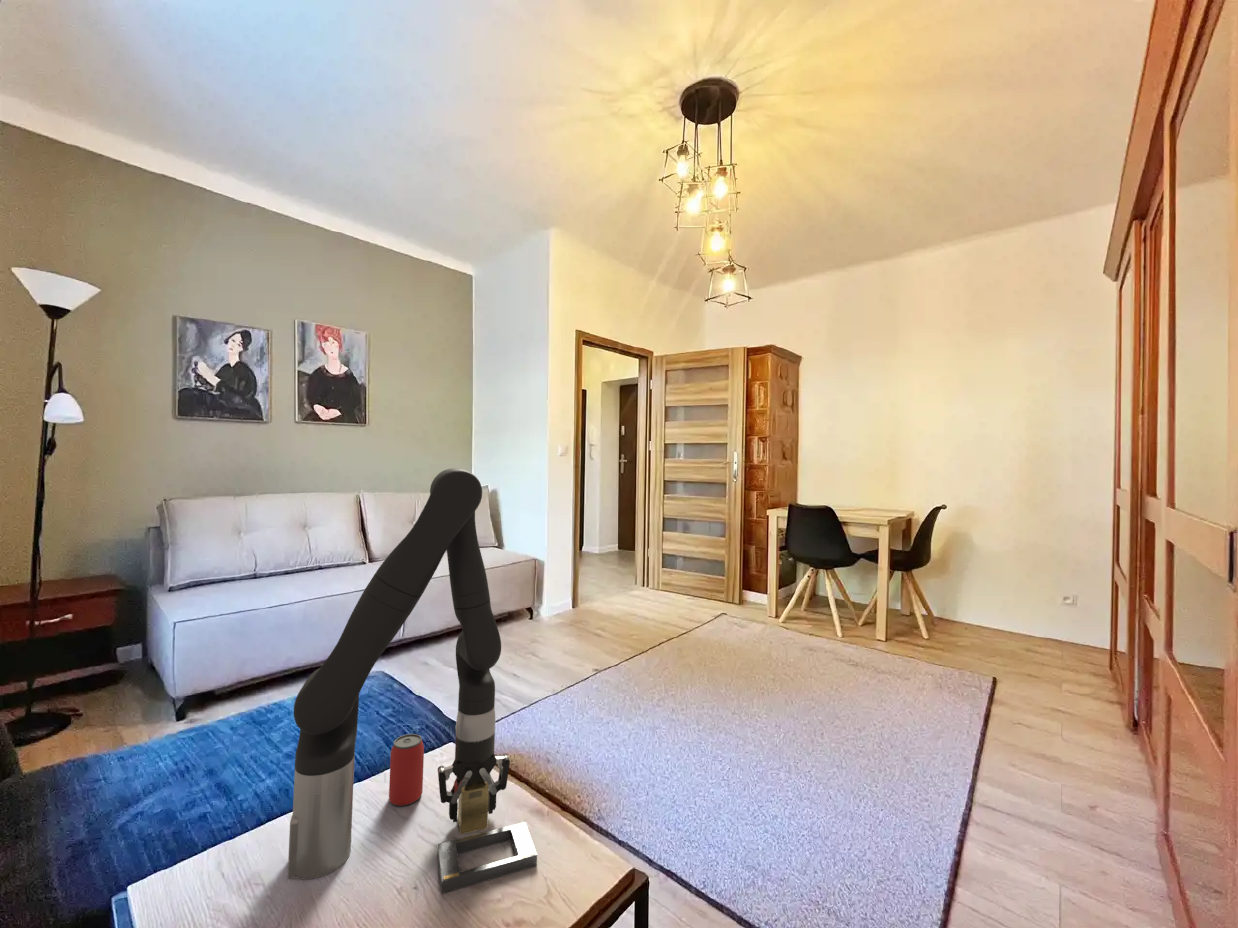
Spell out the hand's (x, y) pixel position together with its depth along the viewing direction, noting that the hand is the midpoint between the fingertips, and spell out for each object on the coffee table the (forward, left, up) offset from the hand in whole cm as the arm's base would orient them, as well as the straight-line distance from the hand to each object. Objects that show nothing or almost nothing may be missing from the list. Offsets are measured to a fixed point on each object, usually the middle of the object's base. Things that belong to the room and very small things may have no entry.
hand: (472, 815), depth 100 cm
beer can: (-12, +13, -2) cm, 18 cm away
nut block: (0, 0, -2) cm, 2 cm away
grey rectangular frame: (+1, -11, -1) cm, 11 cm away
